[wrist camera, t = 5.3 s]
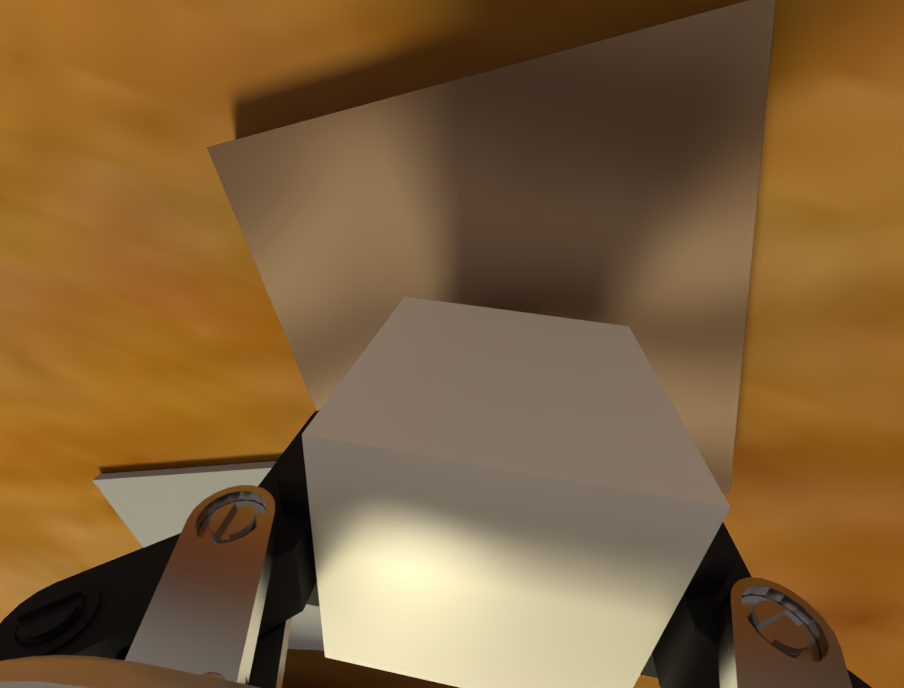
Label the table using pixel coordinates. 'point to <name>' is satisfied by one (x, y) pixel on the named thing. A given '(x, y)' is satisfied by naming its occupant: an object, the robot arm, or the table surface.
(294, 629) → the gray square plate
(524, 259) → the tan square base plate
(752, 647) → the robot arm
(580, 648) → the cream cube
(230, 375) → the table surface
